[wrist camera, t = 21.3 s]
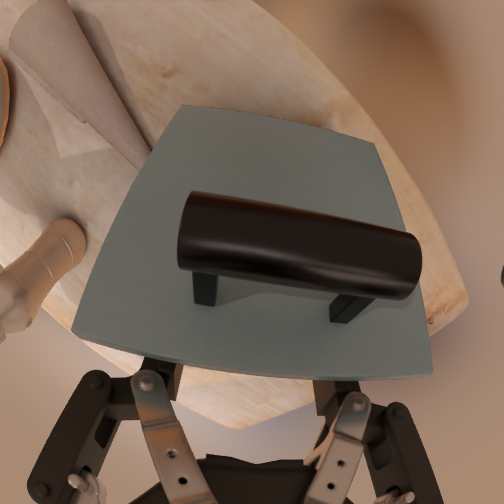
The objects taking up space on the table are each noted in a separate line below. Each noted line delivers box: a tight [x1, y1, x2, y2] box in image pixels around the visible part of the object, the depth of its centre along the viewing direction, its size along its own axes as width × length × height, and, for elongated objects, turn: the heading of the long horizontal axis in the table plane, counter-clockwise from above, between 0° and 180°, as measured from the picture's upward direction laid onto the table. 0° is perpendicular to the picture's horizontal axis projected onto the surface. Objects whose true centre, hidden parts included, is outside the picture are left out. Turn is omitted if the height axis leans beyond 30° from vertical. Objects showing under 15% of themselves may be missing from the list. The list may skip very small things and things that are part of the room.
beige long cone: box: [6, 0, 151, 171], centre depth 21 cm, size 8×9×26 cm
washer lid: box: [71, 105, 433, 381], centre depth 11 cm, size 15×13×5 cm
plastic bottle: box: [0, 218, 86, 344], centre depth 24 cm, size 6×7×20 cm
